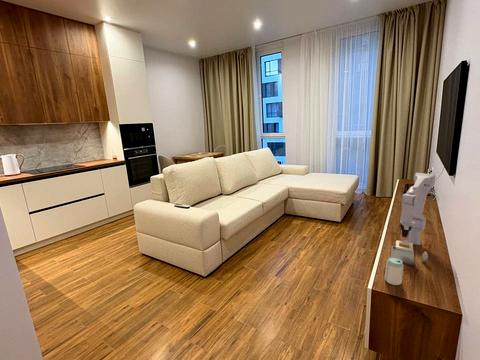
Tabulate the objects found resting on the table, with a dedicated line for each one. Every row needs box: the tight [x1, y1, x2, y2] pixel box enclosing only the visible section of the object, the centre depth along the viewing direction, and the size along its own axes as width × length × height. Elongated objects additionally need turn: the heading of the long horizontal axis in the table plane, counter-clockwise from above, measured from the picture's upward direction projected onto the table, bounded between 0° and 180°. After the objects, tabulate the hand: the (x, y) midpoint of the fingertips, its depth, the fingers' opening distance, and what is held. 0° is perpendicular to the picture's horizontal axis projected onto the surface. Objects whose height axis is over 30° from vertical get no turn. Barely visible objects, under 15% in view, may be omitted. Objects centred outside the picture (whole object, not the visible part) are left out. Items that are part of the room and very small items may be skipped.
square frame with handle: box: [395, 230, 414, 252], centre depth 144 cm, size 12×8×6 cm
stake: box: [421, 251, 429, 264], centre depth 140 cm, size 4×2×6 cm, turn 149°
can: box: [384, 256, 404, 286], centre depth 125 cm, size 7×7×12 cm
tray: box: [390, 245, 416, 266], centre depth 147 cm, size 16×11×2 cm
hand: (404, 236), depth 149 cm, fingers closed on square frame with handle
